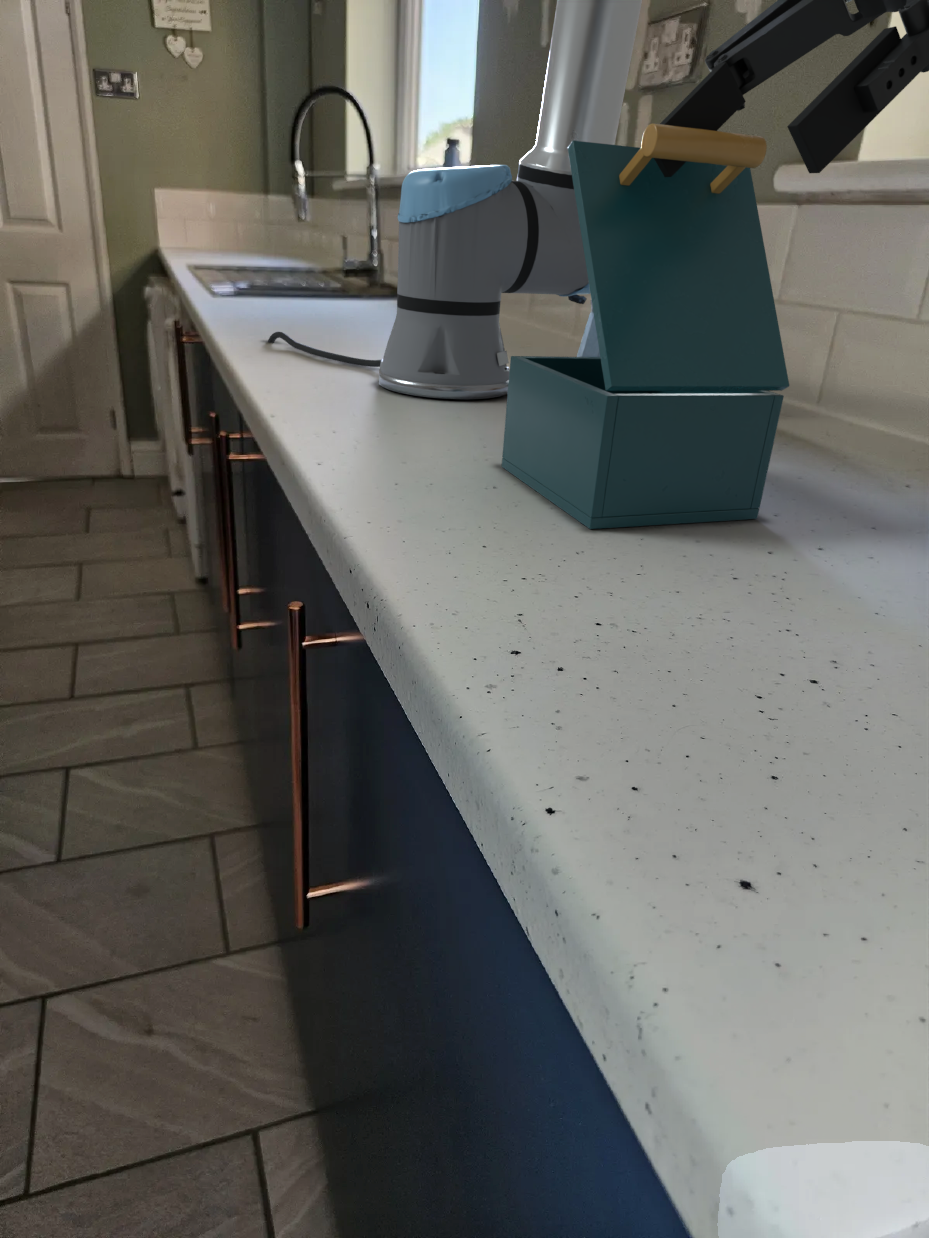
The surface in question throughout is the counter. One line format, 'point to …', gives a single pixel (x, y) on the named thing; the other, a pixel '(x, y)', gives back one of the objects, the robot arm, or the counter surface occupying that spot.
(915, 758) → the counter surface
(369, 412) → the counter surface
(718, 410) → the storage box
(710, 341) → the box lid
